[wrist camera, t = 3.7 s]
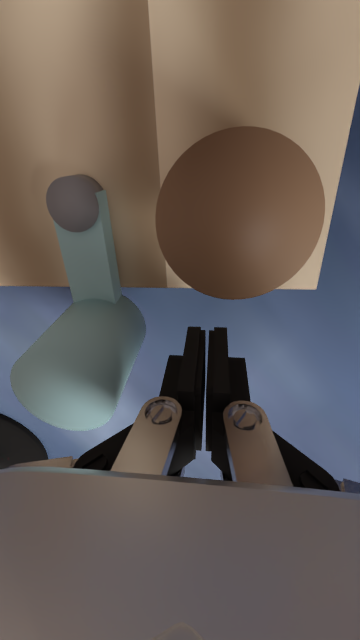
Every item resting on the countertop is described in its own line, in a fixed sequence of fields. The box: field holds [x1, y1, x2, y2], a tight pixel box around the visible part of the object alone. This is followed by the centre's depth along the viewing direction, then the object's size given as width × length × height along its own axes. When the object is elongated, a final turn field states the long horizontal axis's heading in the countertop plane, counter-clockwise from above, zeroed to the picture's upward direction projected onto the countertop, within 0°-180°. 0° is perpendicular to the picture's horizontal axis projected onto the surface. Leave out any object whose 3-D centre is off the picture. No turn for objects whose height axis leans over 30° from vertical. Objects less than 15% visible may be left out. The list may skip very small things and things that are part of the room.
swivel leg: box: [10, 174, 146, 431], centre depth 12 cm, size 9×4×5 cm, turn 2°
